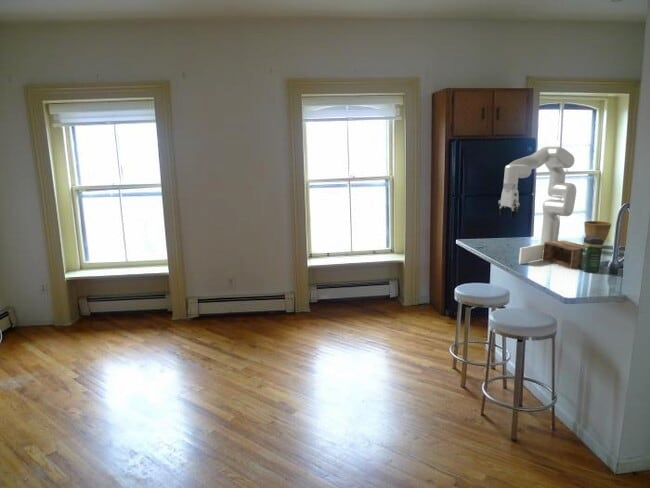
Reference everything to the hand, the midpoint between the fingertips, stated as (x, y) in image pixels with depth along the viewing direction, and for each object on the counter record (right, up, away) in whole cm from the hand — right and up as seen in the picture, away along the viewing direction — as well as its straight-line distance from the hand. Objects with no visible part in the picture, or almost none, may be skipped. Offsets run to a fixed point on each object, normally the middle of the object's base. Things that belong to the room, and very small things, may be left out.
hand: (507, 216), depth 252 cm
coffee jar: (+35, -30, -21) cm, 51 cm away
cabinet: (+31, -27, -6) cm, 41 cm away
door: (+12, -26, -3) cm, 28 cm away
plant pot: (+71, -18, +33) cm, 80 cm away
